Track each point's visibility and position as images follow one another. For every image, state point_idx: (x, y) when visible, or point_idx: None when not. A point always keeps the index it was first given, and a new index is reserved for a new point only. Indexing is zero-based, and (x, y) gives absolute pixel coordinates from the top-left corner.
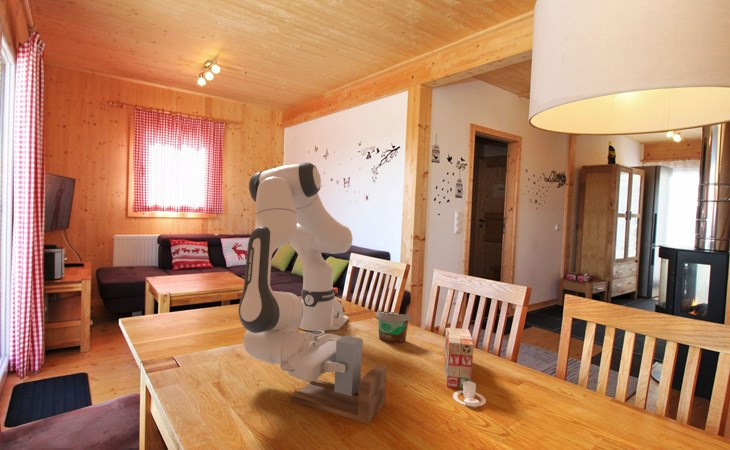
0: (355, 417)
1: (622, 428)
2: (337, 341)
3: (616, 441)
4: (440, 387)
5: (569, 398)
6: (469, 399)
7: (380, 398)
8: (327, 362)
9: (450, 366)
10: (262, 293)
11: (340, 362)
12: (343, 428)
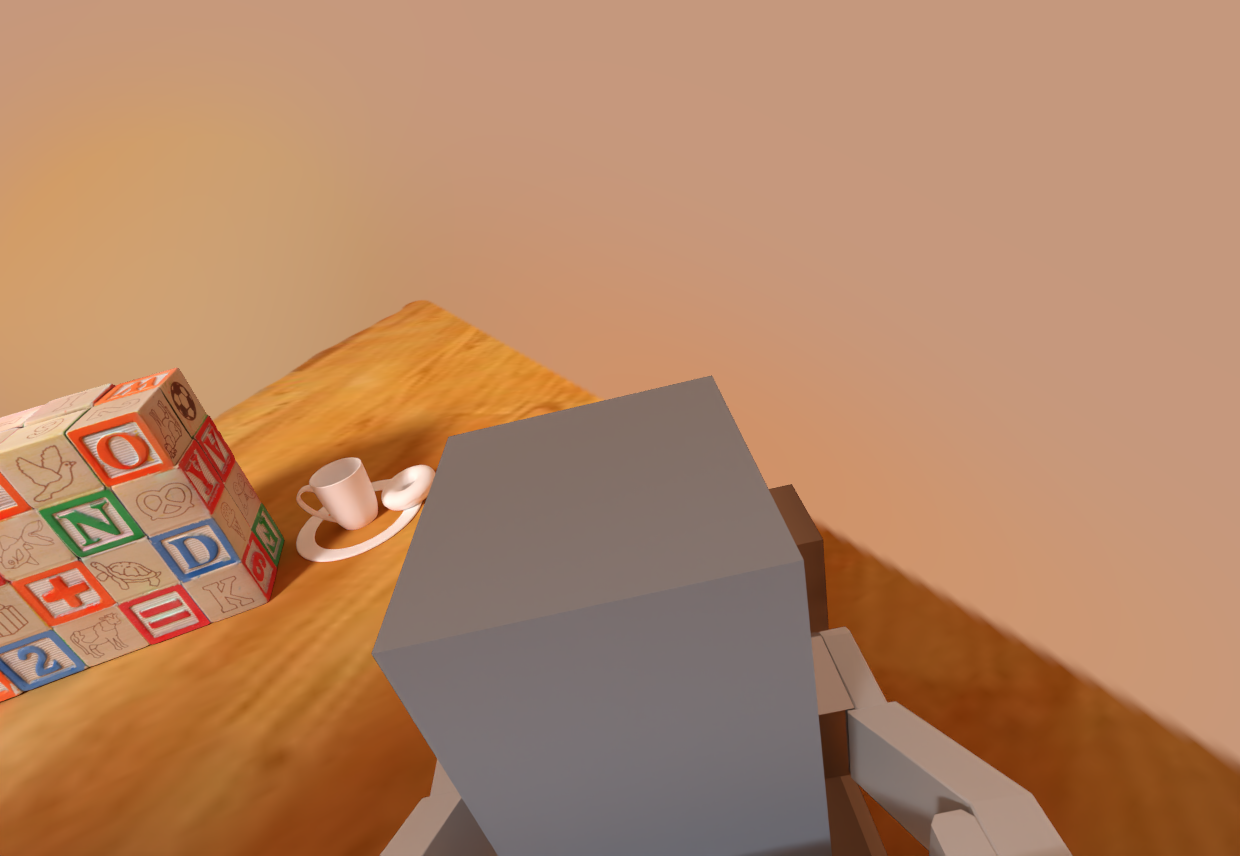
0: None
1: (423, 340)
2: (796, 549)
3: (477, 334)
4: (277, 618)
5: (306, 400)
6: (397, 491)
7: None
8: (1040, 835)
9: (218, 514)
10: None
11: (822, 703)
12: None
